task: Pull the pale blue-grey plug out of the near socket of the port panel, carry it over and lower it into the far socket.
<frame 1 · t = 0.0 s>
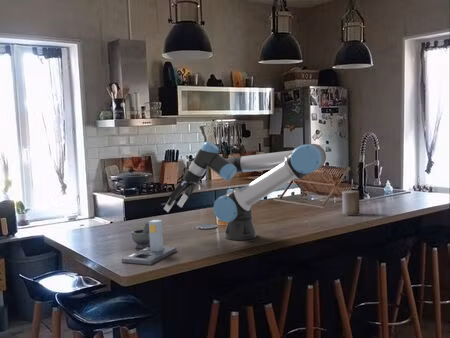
hand: (172, 208, 230), 15 cm above the countertop, tool tilted 35°, fingers open, 13 cm apart
port panel: (150, 256, 201), on the countertop
pillar candle: (350, 214, 283), on the countertop
plug: (156, 253, 206), resting in port panel
mortar and pestle: (144, 246, 219), on the countertop
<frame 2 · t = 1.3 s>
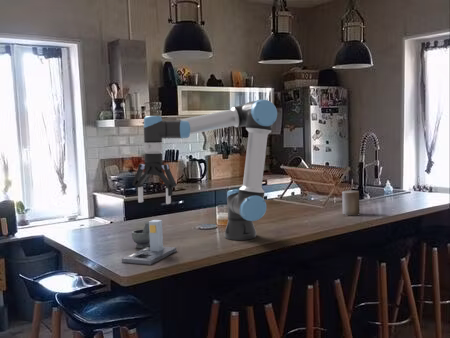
hand: (154, 203, 205), 21 cm above the countertop, tool pointing down, fingers open, 13 cm apart
nothing on the countertop moved.
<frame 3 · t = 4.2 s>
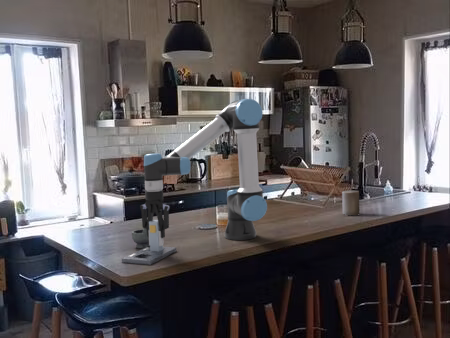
hand: (156, 244, 206), 4 cm above the countertop, tool pointing down, fingers closed on plug, 4 cm apart
plug: (156, 253, 206), resting in port panel, touching gripper
everything else where it was.
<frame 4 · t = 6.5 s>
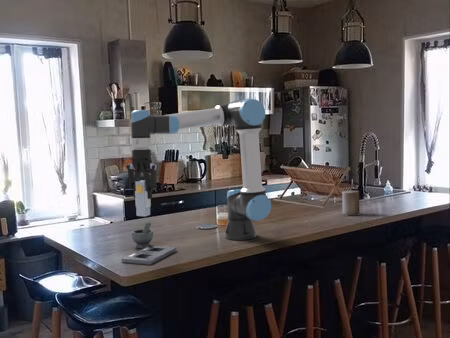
hand: (143, 206, 196), 21 cm above the countertop, tool pointing down, fingers closed on plug, 4 cm apart
plug: (143, 215, 197), point 18 cm above the countertop, touching gripper
everything else where it was.
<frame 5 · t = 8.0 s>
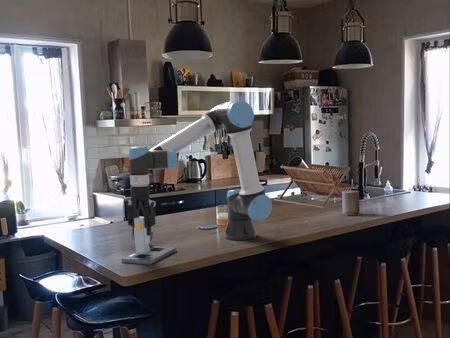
hand: (142, 242, 195), 7 cm above the countertop, tool pointing down, fingers closed on plug, 4 cm apart
plug: (142, 251, 195), point 3 cm above the countertop, touching gripper
everything else where it was.
when the fingers open (5 cm above the countertop, at t = 9.0 s): plug drops 1 cm, resting in port panel.
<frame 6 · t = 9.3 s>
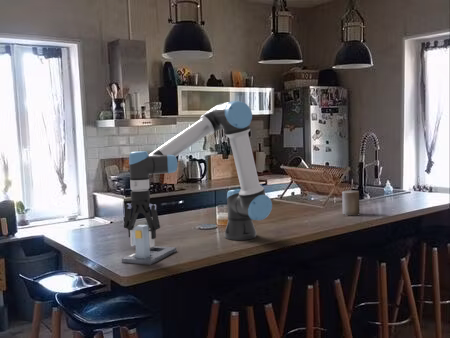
hand: (142, 246, 195), 6 cm above the countertop, tool pointing down, fingers open, 8 cm apart
plug: (143, 260, 196), resting in port panel
everything else where it was.
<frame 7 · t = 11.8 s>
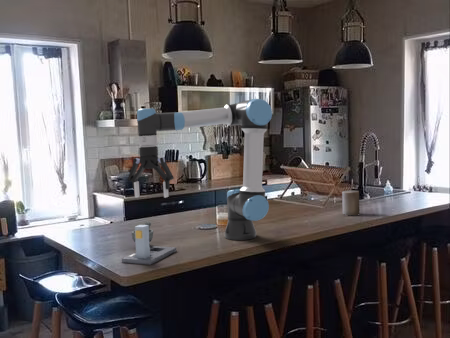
hand: (151, 197, 201), 24 cm above the countertop, tool pointing down, fingers open, 13 cm apart
nothing on the countertop moved.
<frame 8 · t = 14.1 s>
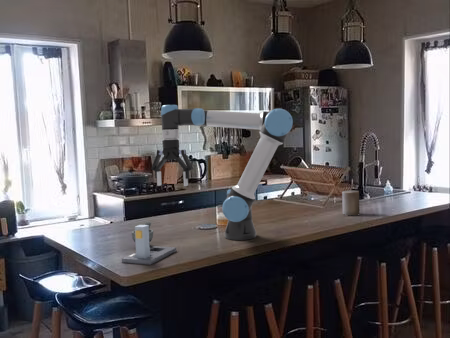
hand: (172, 185, 221), 27 cm above the countertop, tool pointing down, fingers open, 13 cm apart
nothing on the countertop moved.
at the end: plug 0.0 cm from the target spot, resting in port panel; plug tilted 0°; the gripper is holding nothing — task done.
